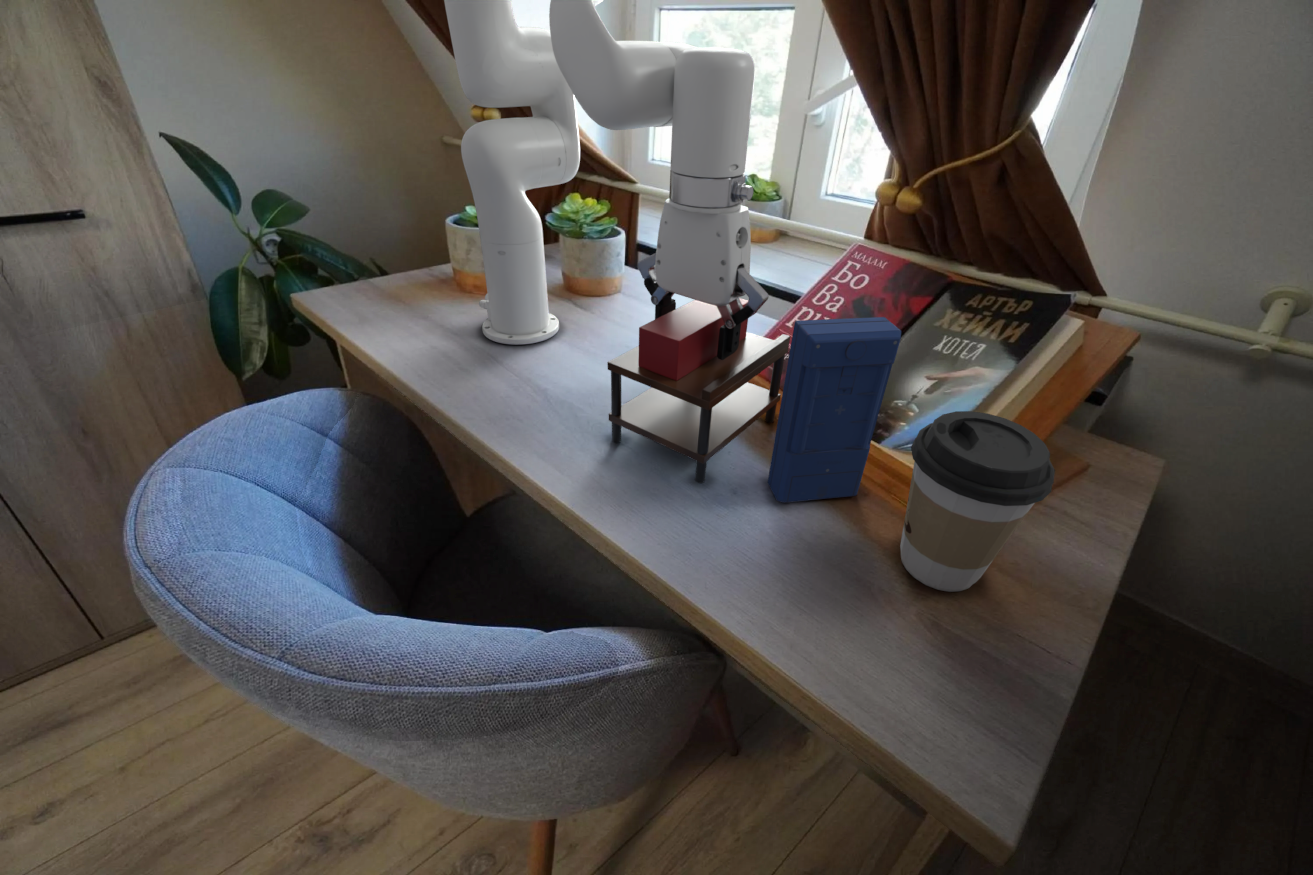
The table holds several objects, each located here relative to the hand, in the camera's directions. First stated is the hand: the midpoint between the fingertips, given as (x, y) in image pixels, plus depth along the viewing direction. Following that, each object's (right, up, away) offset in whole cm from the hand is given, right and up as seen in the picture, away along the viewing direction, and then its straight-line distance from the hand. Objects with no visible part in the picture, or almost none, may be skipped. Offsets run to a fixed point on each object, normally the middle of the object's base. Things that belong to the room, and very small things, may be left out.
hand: (694, 343), depth 72 cm
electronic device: (+13, -17, -3) cm, 22 cm away
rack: (0, -10, +6) cm, 12 cm away
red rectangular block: (0, -1, 0) cm, 1 cm away
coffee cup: (+23, -24, -12) cm, 35 cm away
